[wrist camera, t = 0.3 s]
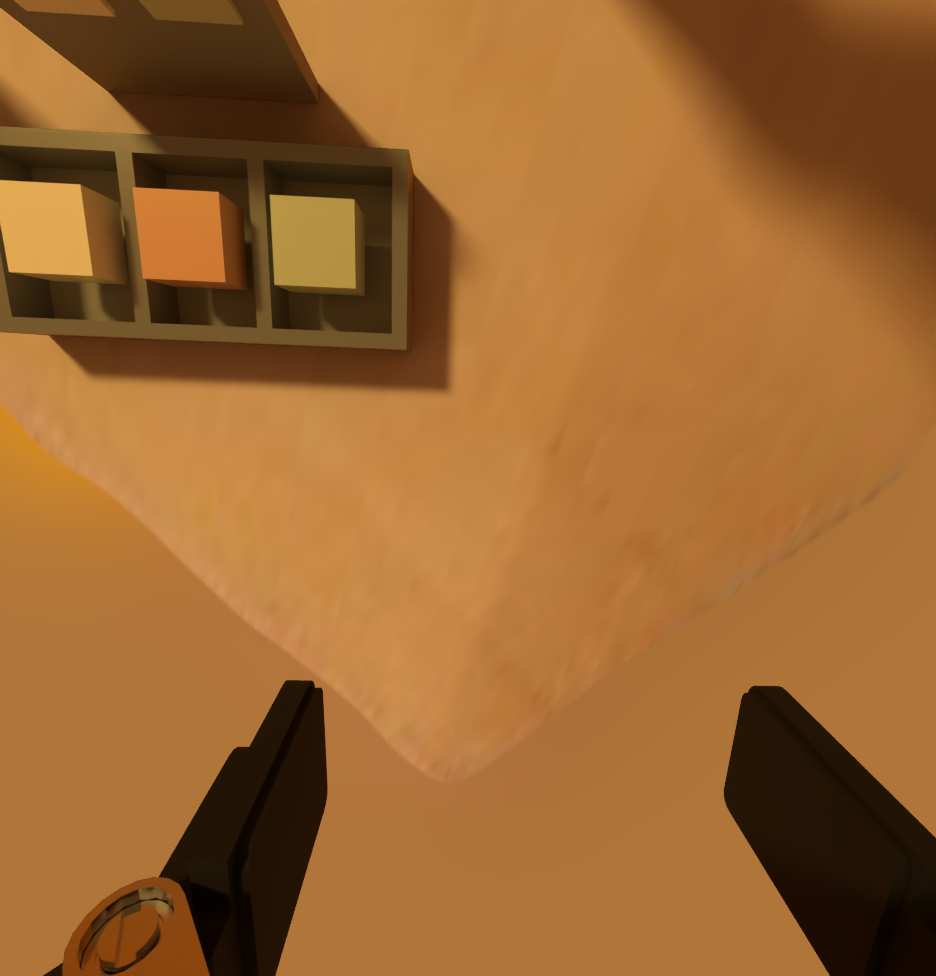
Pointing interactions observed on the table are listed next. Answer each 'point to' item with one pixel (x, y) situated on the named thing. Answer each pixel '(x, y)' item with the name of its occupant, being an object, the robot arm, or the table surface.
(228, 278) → the terracotta key
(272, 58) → the card
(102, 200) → the tan square block
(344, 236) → the olive square block
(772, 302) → the table surface
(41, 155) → the key pad frame
